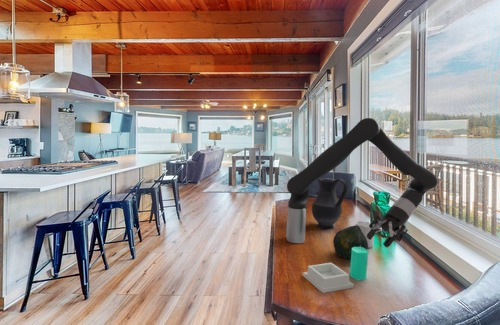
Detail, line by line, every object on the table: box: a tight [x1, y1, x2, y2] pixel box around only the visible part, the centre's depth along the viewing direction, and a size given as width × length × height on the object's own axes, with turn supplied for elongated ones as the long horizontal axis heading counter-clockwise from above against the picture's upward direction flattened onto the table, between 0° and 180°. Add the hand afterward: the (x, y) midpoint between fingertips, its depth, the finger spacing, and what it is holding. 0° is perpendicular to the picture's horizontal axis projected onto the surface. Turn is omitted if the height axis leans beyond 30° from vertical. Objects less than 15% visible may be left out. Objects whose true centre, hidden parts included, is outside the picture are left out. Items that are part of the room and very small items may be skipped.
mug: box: [354, 220, 375, 249], centre depth 145 cm, size 12×9×11 cm
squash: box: [332, 225, 369, 259], centre depth 130 cm, size 14×15×15 cm
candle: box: [349, 247, 369, 281], centre depth 111 cm, size 6×6×12 cm
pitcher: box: [311, 178, 348, 230], centre depth 170 cm, size 17×21×30 cm
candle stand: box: [302, 262, 355, 294], centre depth 106 cm, size 13×13×4 cm
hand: (376, 242), depth 113 cm, fingers open, 8 cm apart
